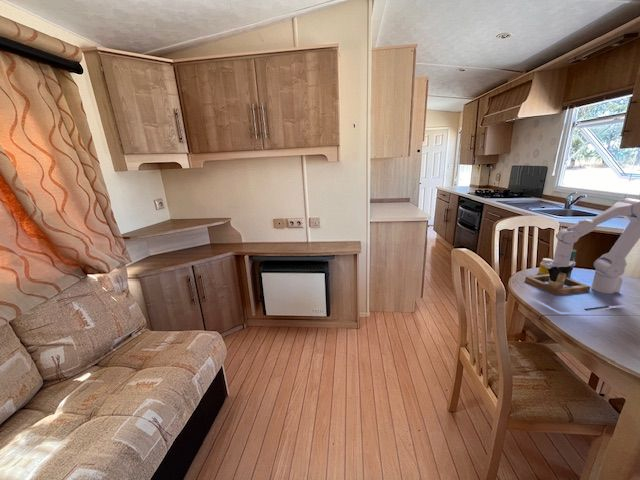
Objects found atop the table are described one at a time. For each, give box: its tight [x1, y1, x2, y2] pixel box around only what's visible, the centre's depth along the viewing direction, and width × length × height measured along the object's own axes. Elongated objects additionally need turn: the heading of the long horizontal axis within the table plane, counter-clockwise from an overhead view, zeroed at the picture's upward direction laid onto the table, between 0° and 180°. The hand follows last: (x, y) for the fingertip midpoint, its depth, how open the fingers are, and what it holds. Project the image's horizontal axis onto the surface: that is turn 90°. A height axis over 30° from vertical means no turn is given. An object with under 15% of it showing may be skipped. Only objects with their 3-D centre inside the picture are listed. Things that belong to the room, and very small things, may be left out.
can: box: [557, 248, 578, 277], centre depth 139 cm, size 6×6×15 cm
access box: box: [524, 274, 592, 296], centre depth 128 cm, size 18×16×4 cm
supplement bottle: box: [537, 257, 553, 275], centre depth 141 cm, size 5×5×10 cm
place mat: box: [584, 305, 610, 311], centre depth 115 cm, size 11×11×1 cm
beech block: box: [547, 272, 567, 288], centre depth 128 cm, size 4×4×7 cm
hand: (556, 280), depth 128 cm, fingers closed on beech block, 4 cm apart
